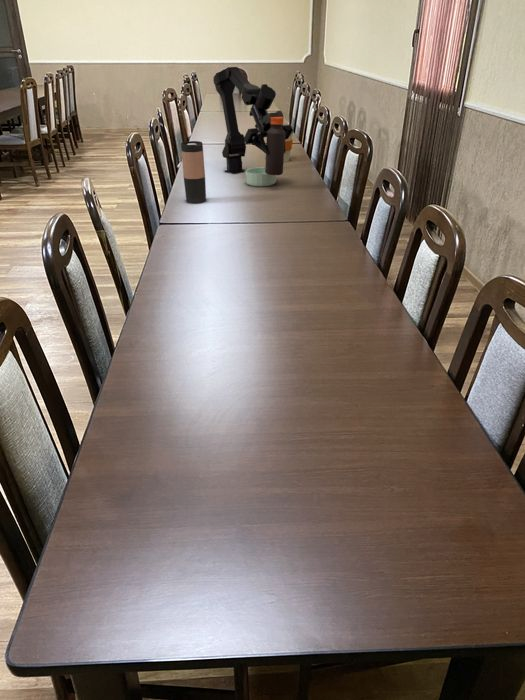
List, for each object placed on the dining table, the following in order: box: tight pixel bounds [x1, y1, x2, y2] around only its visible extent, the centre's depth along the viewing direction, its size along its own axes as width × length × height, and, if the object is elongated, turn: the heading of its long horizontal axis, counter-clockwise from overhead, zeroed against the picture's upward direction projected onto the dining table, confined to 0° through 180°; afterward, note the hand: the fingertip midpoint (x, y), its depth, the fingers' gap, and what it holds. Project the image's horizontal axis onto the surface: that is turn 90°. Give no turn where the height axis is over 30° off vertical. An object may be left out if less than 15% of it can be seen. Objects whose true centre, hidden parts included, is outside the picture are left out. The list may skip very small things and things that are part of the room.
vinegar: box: [264, 116, 285, 176], centre depth 201 cm, size 7×7×20 cm
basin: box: [244, 166, 277, 188], centre depth 215 cm, size 12×12×5 cm
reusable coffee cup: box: [283, 124, 294, 163], centre depth 251 cm, size 13×13×15 cm
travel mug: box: [180, 140, 207, 204], centre depth 191 cm, size 8×8×20 cm
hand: (276, 153), depth 201 cm, fingers closed on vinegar, 7 cm apart
